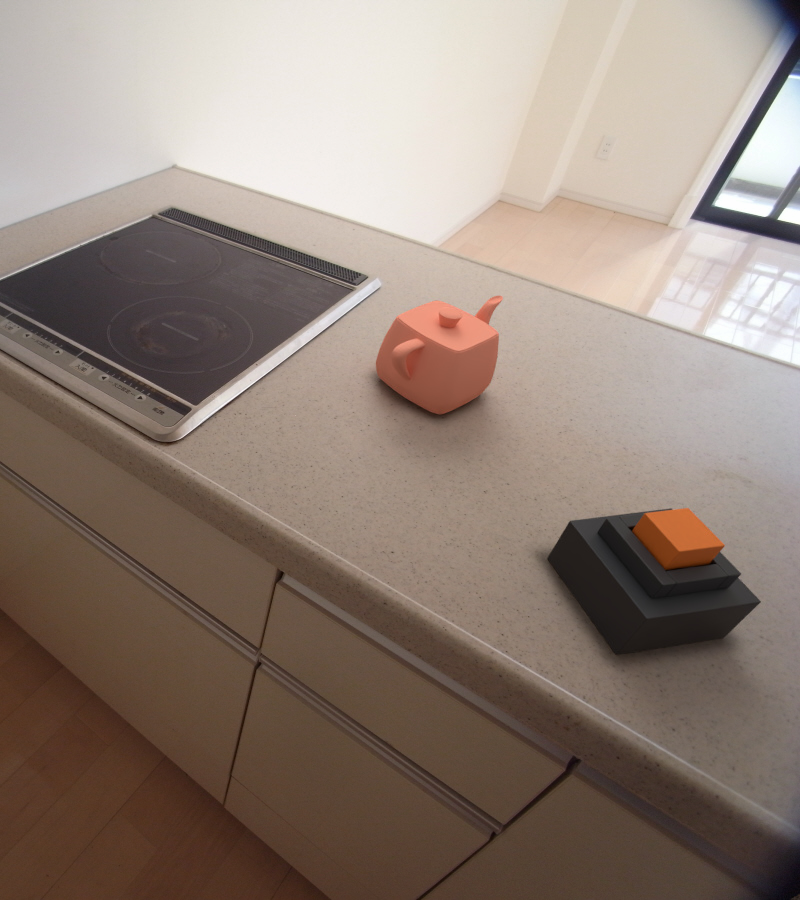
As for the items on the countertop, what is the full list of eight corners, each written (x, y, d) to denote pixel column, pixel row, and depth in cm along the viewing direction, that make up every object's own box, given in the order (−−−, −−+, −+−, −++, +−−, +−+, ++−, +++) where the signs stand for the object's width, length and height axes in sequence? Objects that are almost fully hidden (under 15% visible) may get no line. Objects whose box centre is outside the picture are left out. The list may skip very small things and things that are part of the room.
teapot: (346, 385, 79) (362, 309, 72) (442, 341, 87) (465, 269, 80) (418, 436, 72) (444, 358, 65) (516, 384, 80) (548, 309, 73)
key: (709, 564, 51) (726, 545, 49) (664, 570, 50) (679, 551, 49) (673, 526, 54) (688, 507, 52) (630, 532, 53) (644, 512, 52)
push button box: (724, 638, 53) (776, 587, 49) (615, 655, 52) (659, 605, 47) (643, 545, 61) (682, 493, 56) (546, 558, 59) (578, 506, 55)
